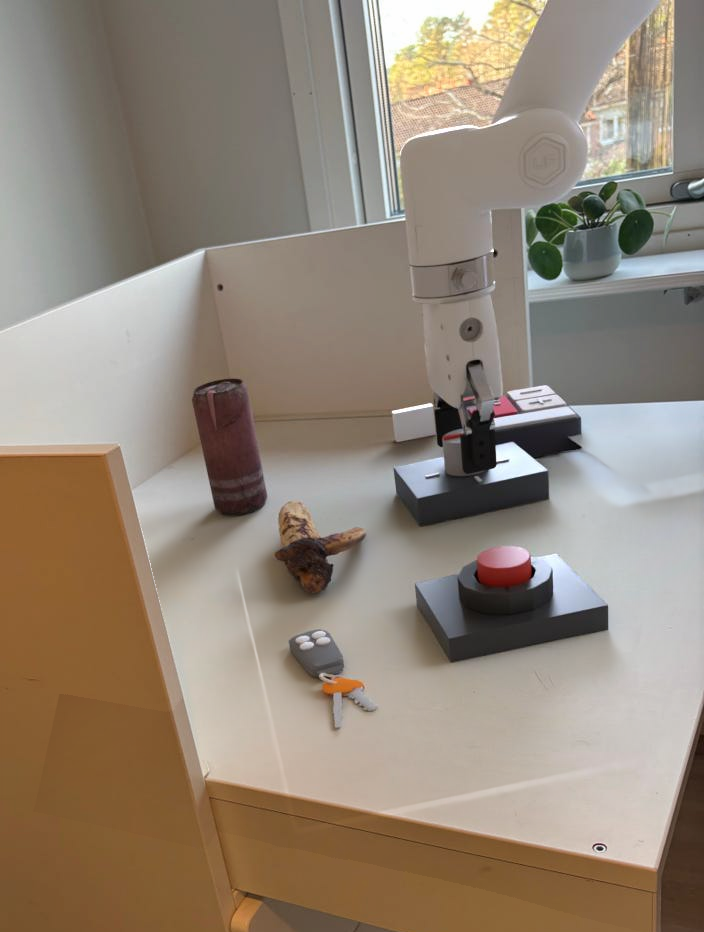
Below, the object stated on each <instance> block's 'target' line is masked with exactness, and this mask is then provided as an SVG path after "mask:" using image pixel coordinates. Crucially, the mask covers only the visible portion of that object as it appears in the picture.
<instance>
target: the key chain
mask: <svg viewBox="0 0 704 932" xmlns="http://www.w3.org/2000/svg"><path fill="white" fill-rule="evenodd" d="M288 645H289V650H290V652H291V654H292V655H293V656H294V658H295V659H296V660H297V661H298V663H299V664H300V665H301V666H302V667H303V669H304V670H306V672H307V674H308V675H310V676H312V677H315V678H319V679H320V680H321V681H322V682H323V684H322V686H321V690H322V692H323V693H325V694H327V695H332V696H333V698H332V700H333V701H332V702H333V707H332V708H333V709H332V714H333V721H334V729H335V730H337V729H341V728H342V719H343V712H342V711H343V710H342V709H343V699H342V698H343V697H348V698H349V699H351V700H353V701H354V704H355V705H358V706H359V707H363V708H362V709H363V710H364V711H368V712H372V711H375V710H377V709H379V706H378V705H377V704H376V703H374V702H373V700H372V699H370V698H369V697H368V696H367V695H366V694H364V693H363V689H365V688H366V687H365V685H364V682H362V681H360V680H358V679H350V678H347V677H344V676H343V675H341V674H340V673H342V672H344V668H345V662H344V657H343V653H342V652H341V651H340V649H339V647H338V646H337V644H336V642H335V640H334V638H333V636H332V635H331V634H330V632H329V631H327V630H325V629H321V628H320V629H319V628H318V629H312V630H309V631H305V632H302V633H299V634H296V635H294V636H293V637H291V638H290V639H289V640H288ZM329 678H330V679H329Z"/></svg>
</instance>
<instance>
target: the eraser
mask: <svg viewBox="0 0 704 932" xmlns="http://www.w3.org/2000/svg"><path fill="white" fill-rule="evenodd" d="M391 418H392V419H391V420H392V426H393V435H394V440H395V442H396V443H400V442H405V441H410V440H411V441H412V440H416V439H421V438H426V437H430V436H436V425H435V413H434V404H432V403H431V402H430V403H425V404H421V405H416V406H410V407H405V408H400V409H396V410H391Z"/></svg>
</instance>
